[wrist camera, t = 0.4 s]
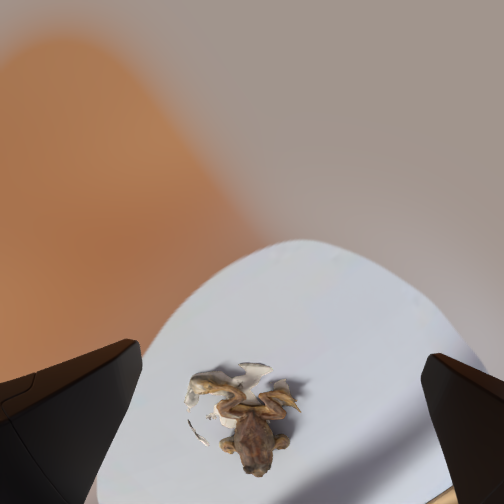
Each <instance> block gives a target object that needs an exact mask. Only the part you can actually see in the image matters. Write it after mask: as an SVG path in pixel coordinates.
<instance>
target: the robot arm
mask: <svg viewBox="0 0 504 504" xmlns="http://www.w3.org/2000/svg"><path fill="white" fill-rule="evenodd" d="M141 371H142V357H141V350H140V344H139V342H138V341H136V340H131V339H123V340H121V341H118V342H116V343H113V344H110V345H108V346H105V347H103V348H100V349H97V350H95V351H92V352H89V353H87V354H84V355H81V356H79V357H76V358H73V359H71V360H68V361H65V362H62V363H60V364H57V365H54V366H51V367H49V368H46V369H43V370H40V371H37V373H32V374H29V375H26V376H23V377H20V378H16V379H13V380H10V381H7V382H3V383H0V504H84V502H85V500H86V497H87V495H88V493H89V490H90V488H91V486H92V484H93V482H94V479H95V477H96V475H97V473H98V471H99V469H100V466H101V464H102V462H103V460H104V458H105V456H106V454H107V451H108V449H109V447H110V445H111V443H112V441H113V439H114V437H115V435H116V433H117V430H118V428H119V426H120V424H121V422H122V420H123V418H124V416H125V414H126V412H127V410H128V407H129V405H130V402H131V399H132V396H133V394H134V391H135V388H136V385H137V382H138V379H139V377H140V374H141ZM421 384H422V387H423V391H424V395H425V398H426V402H427V406H428V409H429V413H430V417H431V420H432V423H433V426H434V428H435V431H436V434H437V437H438V439H439V442H440V445H441V448H442V451H443V454H444V457H445V460H446V463H447V466H448V470H449V473H450V476H451V480H452V483H453V486H454V490H455V494H456V497H457V501H458V504H504V381H502V380H499V379H498V378H495V377H493V376H491V375H489V374H486V373H484V372H482V371H480V370H477V369H475V368H473V367H471V366H468V365H466V364H464V363H462V362H460V361H457V360H455V359H453V358H451V357H448V356H446V355H444V354H442V353H435V354H430V355H429V356H428V358H427V361H426V363H425V366H424V369H423V372H422V374H421Z"/></svg>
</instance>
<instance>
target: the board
mask: <svg viewBox="0 0 504 504" xmlns="http://www.w3.org/2000/svg"><path fill="white" fill-rule="evenodd" d="M426 504H458V501H457V497H456V494H455V490H454V486H452V487H450V488H449V489H447V490H446V491H445V492H443V493H442V494H440V495H439V496H437V497H436V498H434V499H433V500H431V501H430V502H428V503H426Z"/></svg>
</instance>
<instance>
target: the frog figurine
mask: <svg viewBox="0 0 504 504" xmlns="http://www.w3.org/2000/svg"><path fill="white" fill-rule="evenodd" d="M238 365H239V366H240V367H242V368H243V369H244V370H245V371H246V373H245V375H242V376H236V377H234V378H230V377H228V376H226V375H225V374H224V373H223V372H222V371H217V372H216V371H212V372H206V373H197V374H195V375H193V376H192V377H191V379H190V382H189V386H188V389H187V390H188V392H187V394H186V397H185V400H184V403H185V404H186V405H187V406H188V407H189V408H188V409H187V411H188V412H189V413H190V408H192V407H194V406H195V405H196V404H197V403H198V401H199V395H201V394H208V393H210V394H212V395H223V396H226V397H227V398H226V399H225V400H221V401H220V402H219V403H218V404H215V406H214V413H210V415H206V419H207V418H209V420H211V419H210V418H211V417H212V418H213V419H216V415H215V414H217V415H219V416H220V421H221V424H222V425H223V426H226V427H227V428H235V430H234V431H235V434H234V436H232V437H227V438H224V439H222V440H221V441H220V442H219V447H220V448H221V449H222V450H223V451H224V452H228V453H229V454H233V452H234V451H236V452H238V454H239V455H240V458H241V462H242V465H243V466H244V467H243V469H244V471H245V472H246V473H247V474H253V475H254V476H256V477H262V476H263V475H264V474H265V473H267V471H268V470H270V468H271V464H272V460H273V458H272V457H273V453H272V451H273V450H274V449H275V448H277V449H278V450H280V449H286V448H287V447H288V446H289V444H290V440H289V438H288V437H287V436H286V435H284V434H278V435H275V436H273V433H272V431H271V429H270V428H269V426H268V424H270V420H277V419H284V418H285V416H286V411H285V410H284V409H283V408H282V405H285V406H292V407H294V408H295V409H297V410H298V411H299V412H300V413H301V411H300V410H299V408H298V407H297V405H296V404H295V403H294V402H296V401H297V400H295V399H293V398H292V396H291V394H290V391H289V385H288V384H286V379H283V380H279V381H277V382H276V383H274V391H269V392H264V393H260V394H259V396H258V397H259V398H260V399H261V400H262V401H263V402H264V403H265V406H263V405H262V404H261V403H259V401H258V400H257V398H256V397H255V396H254V394H253V393H252V392H251V391H250V390H251V389H252V388H253V387H254V386H256V385H257V384H258V383H259V380H260V378H261V376H263V375H265V374H268V373H270V372H272V371H273V369H272V368H271V367H268V366H265V365H261V364H258V363H256V364H254V363H244V364H238ZM270 383H272V382H270ZM188 424H189V426H190V427H191V429H192V431H193V432H194V433H195V435H196V437H197V438H198V440H200V441H201V442H203V443H204V444H205V445H206V446H209V443H208V441H206V440H205V439H204V438H203V437H202V436H200V435H198V434H196V430H195V429H194V428H193V427H192V425H191V423H190V421H189V420H188Z"/></svg>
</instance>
